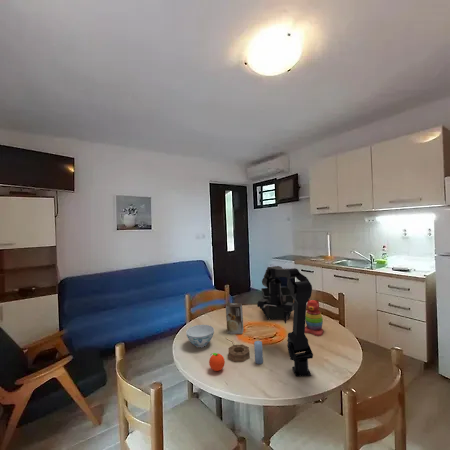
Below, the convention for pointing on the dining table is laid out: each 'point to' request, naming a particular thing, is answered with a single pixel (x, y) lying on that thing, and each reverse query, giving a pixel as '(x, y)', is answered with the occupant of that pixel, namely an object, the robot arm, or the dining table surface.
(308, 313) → the stacking bear
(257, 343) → the tapered blue cylinder
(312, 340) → the dining table surface
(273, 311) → the black bin
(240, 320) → the coffee box
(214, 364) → the clementine
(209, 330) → the chinaware
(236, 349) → the bead
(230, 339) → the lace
